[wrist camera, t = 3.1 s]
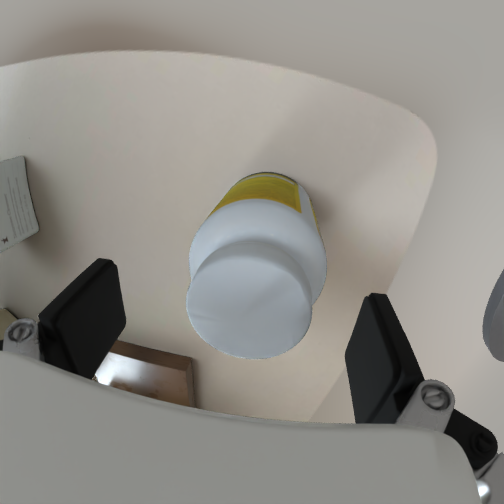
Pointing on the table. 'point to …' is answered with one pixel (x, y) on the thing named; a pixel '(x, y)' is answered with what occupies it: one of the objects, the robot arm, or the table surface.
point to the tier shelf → (148, 373)
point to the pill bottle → (256, 268)
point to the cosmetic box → (15, 204)
